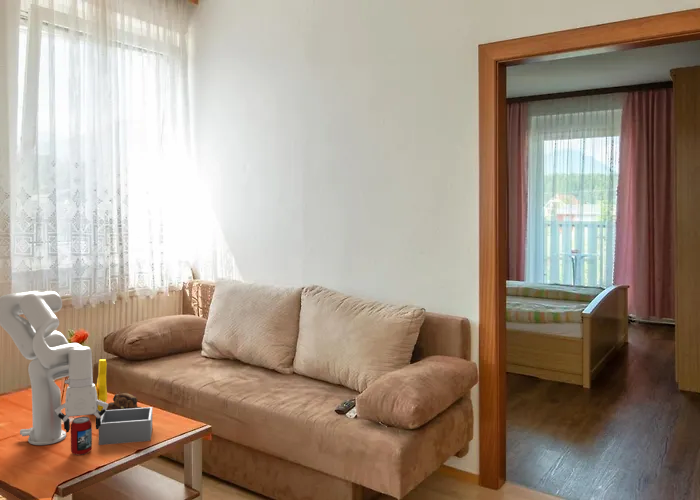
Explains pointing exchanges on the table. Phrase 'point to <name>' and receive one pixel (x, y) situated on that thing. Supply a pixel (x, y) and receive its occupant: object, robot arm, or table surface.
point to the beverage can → (81, 435)
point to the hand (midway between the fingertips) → (82, 429)
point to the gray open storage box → (125, 426)
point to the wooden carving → (123, 402)
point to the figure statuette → (101, 383)
